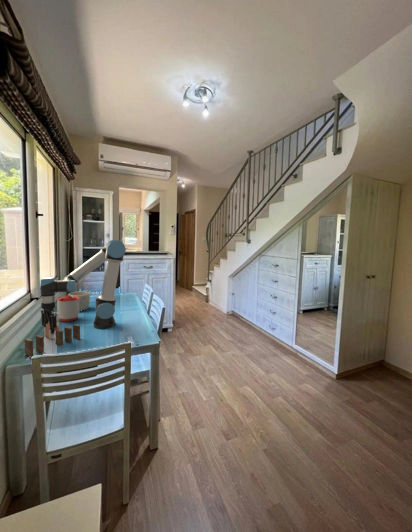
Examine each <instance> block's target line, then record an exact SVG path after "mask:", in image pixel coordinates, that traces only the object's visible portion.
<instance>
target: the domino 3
mask: <svg viewBox="0 0 412 532" xmlns="http://www.w3.org/2000/svg"><path fill="white" fill-rule="evenodd" d="M49 329H50V325H49V323H47V324H46V337H45V338H47V339H49V340H51V339H50V336H49Z"/></svg>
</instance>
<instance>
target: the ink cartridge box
mask: <svg viewBox="0 0 412 532" xmlns="http://www.w3.org/2000/svg"><path fill="white" fill-rule="evenodd" d="M54 313H57V315H56V321H57V328H54V332H55V330H57V329H59V330H60V319H59V313H58V312H55V311H54Z"/></svg>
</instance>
